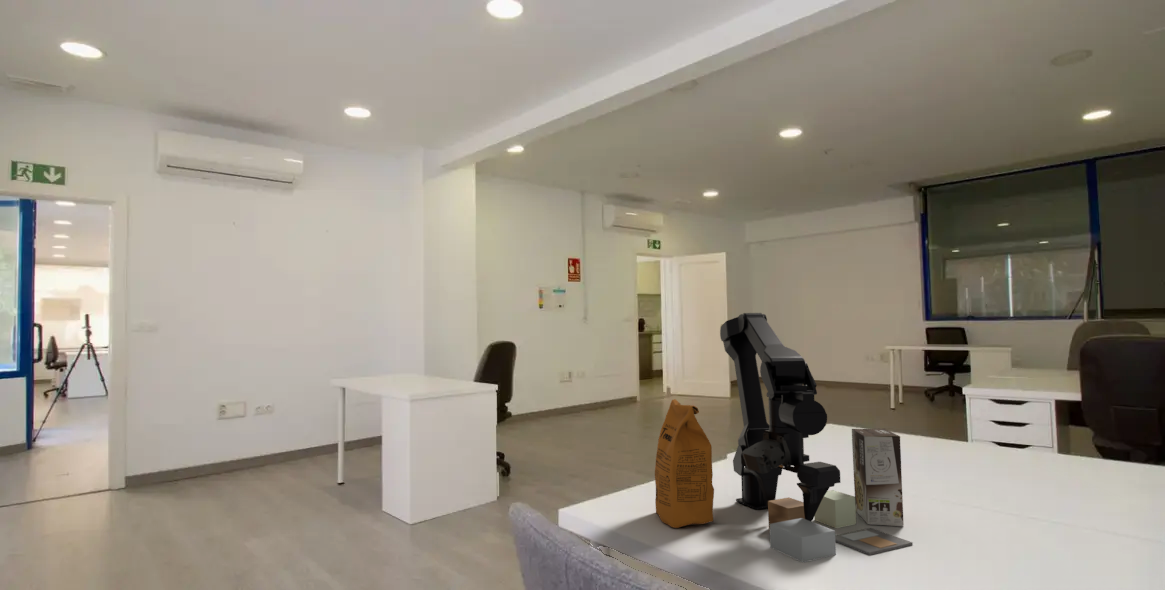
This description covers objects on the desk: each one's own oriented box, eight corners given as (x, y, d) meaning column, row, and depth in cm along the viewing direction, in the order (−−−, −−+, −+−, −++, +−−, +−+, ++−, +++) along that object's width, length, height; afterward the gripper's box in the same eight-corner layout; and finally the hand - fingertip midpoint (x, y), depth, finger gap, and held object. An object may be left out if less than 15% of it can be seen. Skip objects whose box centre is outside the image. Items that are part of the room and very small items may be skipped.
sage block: (814, 520, 109) (813, 493, 109) (834, 516, 111) (833, 490, 111) (836, 528, 104) (835, 500, 105) (856, 524, 106) (854, 496, 107)
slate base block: (770, 548, 95) (769, 523, 96) (802, 542, 98) (801, 517, 99) (802, 564, 89) (801, 537, 89) (836, 556, 92) (835, 530, 92)
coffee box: (905, 527, 104) (901, 436, 105) (866, 525, 106) (863, 435, 107) (889, 511, 113) (885, 427, 114) (854, 510, 115) (850, 427, 116)
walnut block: (768, 529, 104) (767, 500, 105) (790, 525, 106) (789, 497, 107) (789, 538, 100) (788, 508, 100) (811, 533, 102) (810, 504, 102)
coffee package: (697, 507, 117) (695, 397, 119) (720, 528, 105) (716, 405, 106) (649, 510, 116) (647, 398, 117) (666, 531, 104) (663, 406, 105)
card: (829, 538, 99) (828, 535, 99) (870, 530, 103) (870, 527, 103) (869, 555, 92) (869, 551, 92) (912, 544, 96) (912, 541, 96)
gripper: (716, 421, 109) (719, 506, 108) (790, 437, 92) (793, 538, 91) (763, 417, 114) (765, 498, 113) (841, 432, 97) (844, 527, 96)
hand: (788, 514), depth 103 cm, fingers open, 9 cm apart
